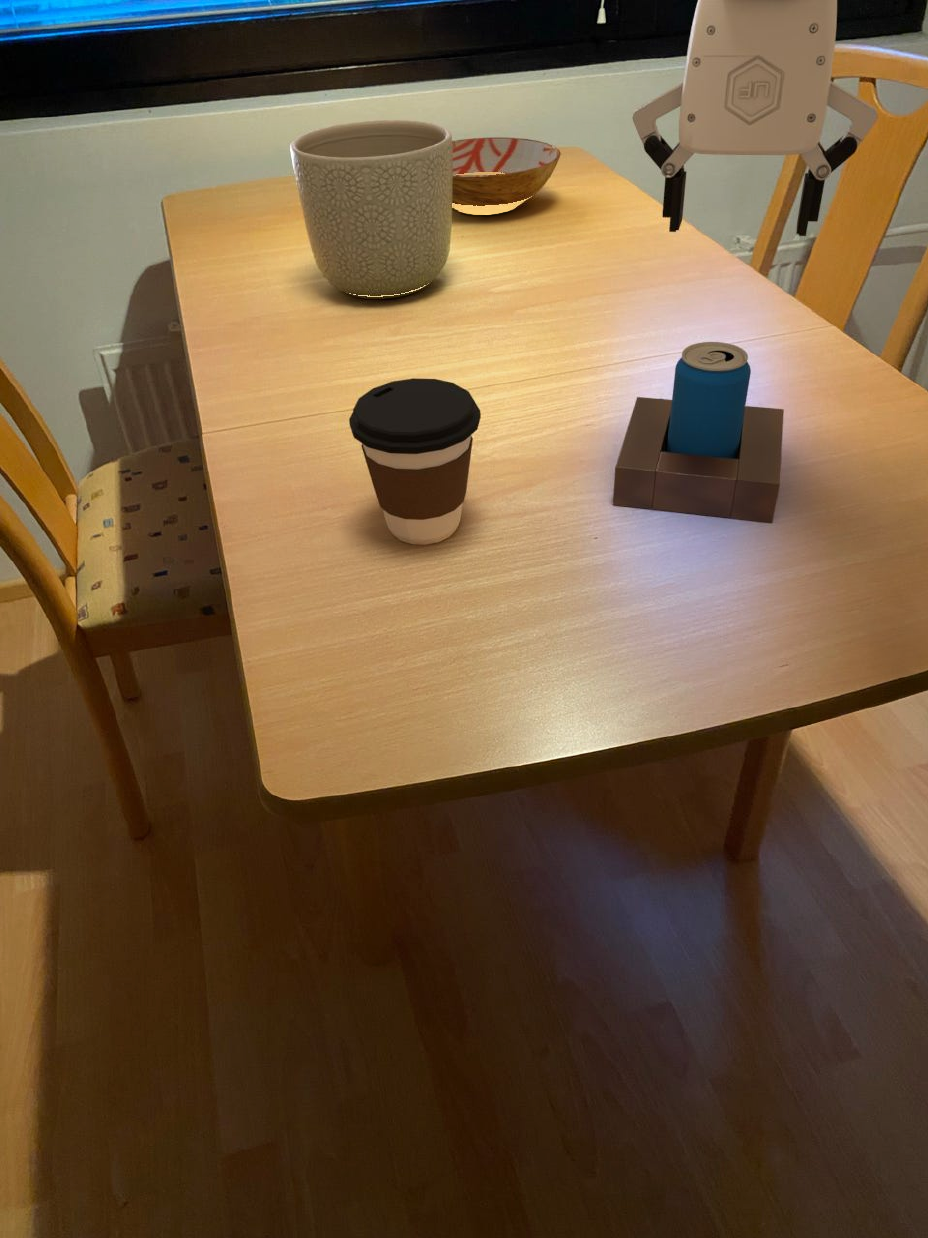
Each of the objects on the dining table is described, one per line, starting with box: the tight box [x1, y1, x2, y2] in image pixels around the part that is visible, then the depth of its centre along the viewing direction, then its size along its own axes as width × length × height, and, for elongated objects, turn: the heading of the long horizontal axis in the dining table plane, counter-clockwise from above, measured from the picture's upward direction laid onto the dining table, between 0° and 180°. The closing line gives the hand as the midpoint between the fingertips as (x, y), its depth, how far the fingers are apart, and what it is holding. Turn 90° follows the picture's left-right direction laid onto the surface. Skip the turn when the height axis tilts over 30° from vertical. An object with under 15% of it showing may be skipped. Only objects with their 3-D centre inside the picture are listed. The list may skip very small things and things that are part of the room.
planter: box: [289, 119, 453, 300], centre depth 126 cm, size 21×21×19 cm
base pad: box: [612, 396, 785, 524], centre depth 87 cm, size 14×14×4 cm
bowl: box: [452, 136, 562, 206], centre depth 156 cm, size 25×25×8 cm
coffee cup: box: [348, 377, 482, 546], centre depth 80 cm, size 11×11×12 cm
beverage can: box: [667, 341, 752, 459], centre depth 85 cm, size 6×6×12 cm
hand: (737, 228), depth 73 cm, fingers open, 9 cm apart
